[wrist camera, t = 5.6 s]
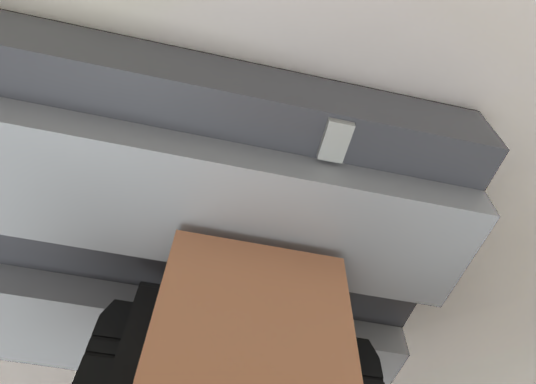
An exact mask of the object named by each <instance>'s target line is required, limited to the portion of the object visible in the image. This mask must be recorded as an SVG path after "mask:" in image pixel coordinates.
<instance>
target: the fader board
mask: <svg viewBox="0 0 536 384" xmlns="http://www.w3.org/2000/svg"><path fill="white" fill-rule="evenodd" d="M508 152H509V149H508V147H507V146H506V145H505V144H504V142H503V141H502V140H501V138H500V137H499V136H498V135H497V133H496V132H495V131H494V130H493V128H492V127H491V126H490V124H489V123H488V122H487V121H486V119H485V118H484V117H483V116H482V114H481V113H480V112H479V111H475V110H470V109H465V108H461V107H456V106H451V105H447V104H442V103H437V102H433V101H428V100H423V99H419V98H414V97H409V96H404V95H400V94H395V93H390V92H386V91H381V90H376V89H372V88H367V87H362V86H358V85H353V84H348V83H344V82H339V81H334V80H330V79H325V78H320V77H315V76H311V75H306V74H301V73H297V72H292V71H287V70H283V69H278V68H273V67H269V66H264V65H259V64H255V63H250V62H245V61H241V60H236V59H231V58H226V57H222V56H217V55H212V54H208V53H203V52H198V51H194V50H189V49H184V48H180V47H175V46H170V45H166V44H161V43H156V42H152V41H147V40H142V39H138V38H133V37H128V36H123V35H119V34H114V33H109V32H105V31H100V30H95V29H91V28H86V27H81V26H77V25H72V24H67V23H63V22H58V21H53V20H49V19H44V18H39V17H34V16H30V15H25V14H20V13H16V12H11V11H6V10H2V9H0V360H5V361H12V362H19V363H26V364H34V365H41V366H48V367H55V368H63V369H70V370H78V367H79V365H80V362H81V360H82V357H83V355H84V354H85V350H86V347H87V345H88V342H89V340H90V338H91V335H92V332H93V330H94V327H95V325H96V322H97V320H98V317H99V315H100V314H101V313H102V312H103V311H104V310H105V309H106V308H107V306H108V305H109V304H110V303H111V302H112V301H113V300H114V299H117V300H123V301H130V302H133V301H134V298H135V295H136V292H137V289H138V286H139V284H140V282H141V281H144V282H150V283H157V284H161V282H162V278H163V275H164V271H165V267H166V264H167V260H168V257H169V253H170V250H171V246H172V243H173V239H174V236H175V232H176V230H182V231H187V232H193V233H199V234H205V235H211V236H216V237H222V238H228V239H234V240H240V241H245V242H251V243H257V244H263V245H268V246H274V247H280V248H286V249H292V250H297V251H303V252H309V253H315V254H321V255H326V256H332V257H338V258H344V263H345V270H346V276H347V282H348V289H349V295H350V301H351V308H352V314H353V320H354V326H355V332H356V337H357V338H364V339H369V341H370V342H371V344H372V346H373V347H374V349H375V351H376V353H377V354H378V356H379V358H380V362H381V367H382V372H383V377H384V378H383V382H385V384H391V383H392V382H393V380H394V378H395V377H396V375H397V374H398V372H399V371H400V369H401V368H402V366H403V365H404V363H405V362H406V360H407V359H408V357H409V356H410V355H409V351H408V347H407V343H406V340H405V336H404V332H403V328H402V327H403V326H404V324H405V322H406V321H407V319H408V317H409V316H410V314H411V312H412V311H413V309H414V307H415V306H416V304H417V303H418V304H424V305H430V306H436V307H442V305H443V304H444V302H445V300H446V299H447V297H448V296H449V294H450V293H451V291H452V290H453V288H454V287H455V285H456V284H457V282H458V281H459V279H460V278H461V276H462V274H463V273H464V271H465V270H466V268H467V267H468V265H469V264H470V262H471V261H472V259H473V258H474V256H475V255H476V253H477V252H478V250H479V249H480V247H481V245H482V244H483V242H484V241H485V239H486V238H487V236H488V235H489V233H490V232H491V230H492V229H493V227H494V226H495V224H496V223H497V221H498V219H499V218H500V215H499V214H498V212H497V210H496V209H495V207H494V205H493V204H492V202H491V201H490V199H489V197H488V196H487V194H486V192H485V190H486V188H487V186H488V185H489V183H490V181H491V180H492V178H493V176H494V175H495V173H496V171H497V170H498V168H499V166H500V165H501V163H502V162H503V160H504V158H505V157H506V155H507V153H508Z"/></svg>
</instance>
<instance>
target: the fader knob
mask: <svg viewBox="0 0 536 384" xmlns="http://www.w3.org/2000/svg"><path fill="white" fill-rule="evenodd" d="M133 384H363V378H362V371H361V365H360V359H359V352H358V346H357V339H356V333H355V327H354V320H353V314H352V308H351V301H350V295H349V289H348V282H347V276H346V270H345V263H344V258H338V257H332V256H326V255H321V254H315V253H309V252H303V251H297V250H292V249H286V248H280V247H274V246H268V245H263V244H257V243H251V242H245V241H240V240H234V239H228V238H222V237H216V236H211V235H205V234H199V233H193V232H187V231H182V230H176V232H175V236H174V239H173V243H172V246H171V250H170V253H169V257H168V260H167V264H166V267H165V271H164V275H163V278H162V282H161V285H160V289H159V292H158V296H157V299H156V303H155V306H154V310H153V314H152V317H151V321H150V324H149V328H148V331H147V335H146V338H145V342H144V345H143V349H142V353H141V356H140V360H139V363H138V367H137V370H136V374H135V377H134V381H133Z"/></svg>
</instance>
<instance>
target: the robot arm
mask: <svg viewBox="0 0 536 384" xmlns="http://www.w3.org/2000/svg"><path fill="white" fill-rule="evenodd" d="M160 285H161V284H157V283H150V282H144V281H141V282H140V284H139V286H138V289H137V292H136V295H135V298H134V301H133V302H130V301H123V300H117V299H114V300H113V301H112V302H111V303H110V304H109V305H108V306H107V308H106V309H105V310H104V311H103V312H102V313H101V314H100V315H99V317H98V320H97V322H96V325H95V327H94V330H93V332H92V335H91V338H90V340H89V342H88V345H87V347H86V350H85V354H84V355H83V357H82V360H81V362H80V365H79V367H78V370H77V372H76V375H75V377H74V380H73V382H72V384H133V381H134V377H135V374H136V370H137V367H138V363H139V360H140V356H141V353H142V349H143V345H144V342H145V338H146V335H147V331H148V328H149V324H150V321H151V317H152V314H153V310H154V306H155V303H156V299H157V296H158V292H159V289H160ZM354 327H355V326H354ZM355 333H356V332H355ZM356 339H357V346H358V352H359V359H360V365H361V371H362V378H363V384H385V382H383V378H384V377H383V372H382V367H381V362H380V358H379V356H378V354H377V353H376V351H375V349H374V347H373V346H372V344H371V342H370V341H369V339H364V338H357V337H356Z"/></svg>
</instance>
